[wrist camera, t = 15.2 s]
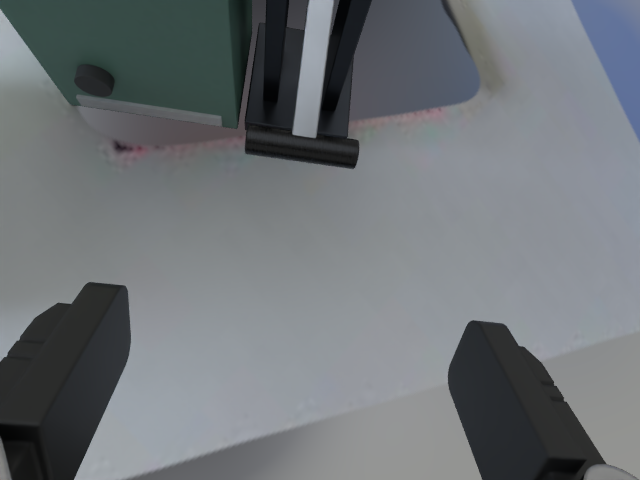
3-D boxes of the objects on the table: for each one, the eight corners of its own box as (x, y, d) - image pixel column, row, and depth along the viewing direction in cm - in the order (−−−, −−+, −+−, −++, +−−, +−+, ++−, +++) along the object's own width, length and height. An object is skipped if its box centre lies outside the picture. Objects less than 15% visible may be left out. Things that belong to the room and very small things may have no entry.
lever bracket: (344, 145, 31) (428, -53, 16) (244, 130, 31) (236, -92, 15) (351, 49, 33) (432, -204, 18) (258, 33, 33) (263, -246, 18)
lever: (349, 169, 22) (358, 169, 19) (246, 154, 21) (243, 152, 19) (390, -112, 20) (405, -150, 18) (278, -136, 19) (279, -179, 17)
